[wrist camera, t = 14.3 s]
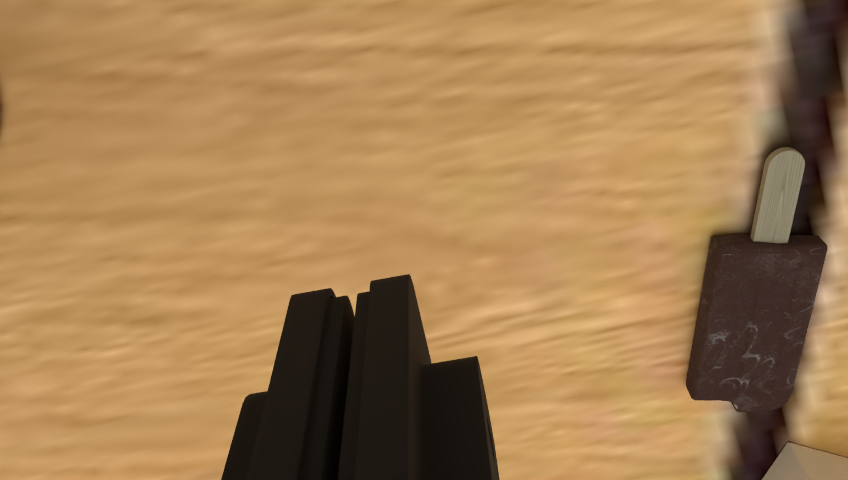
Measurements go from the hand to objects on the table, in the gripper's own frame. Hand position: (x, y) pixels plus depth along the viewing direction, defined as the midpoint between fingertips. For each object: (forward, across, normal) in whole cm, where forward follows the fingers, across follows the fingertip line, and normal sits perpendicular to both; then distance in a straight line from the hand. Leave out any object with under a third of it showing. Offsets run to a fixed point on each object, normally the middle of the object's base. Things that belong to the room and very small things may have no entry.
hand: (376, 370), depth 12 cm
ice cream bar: (+27, -15, +17) cm, 35 cm away
